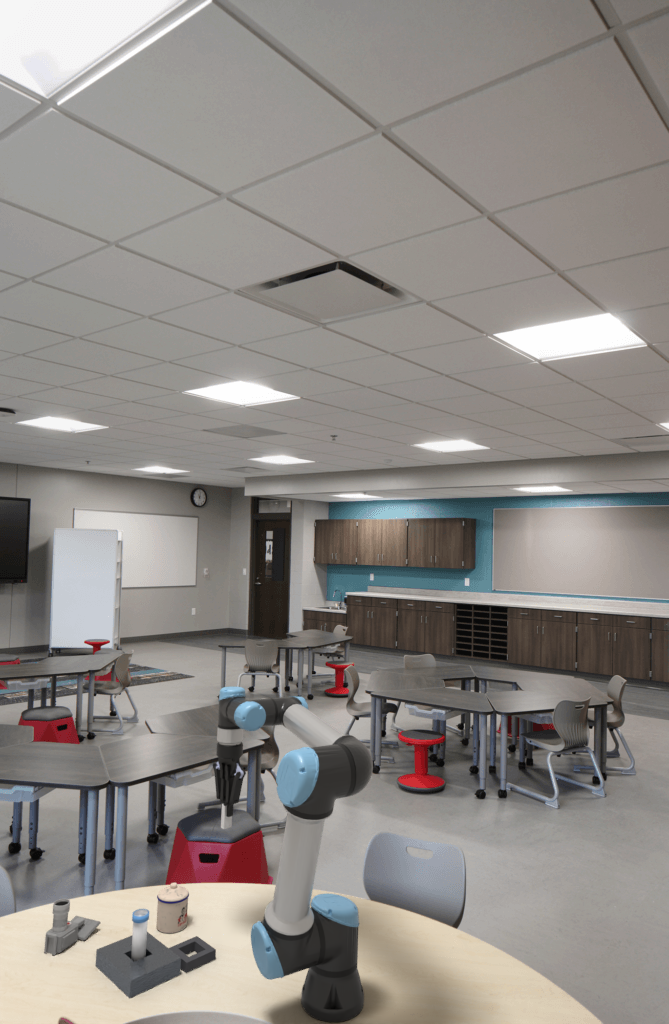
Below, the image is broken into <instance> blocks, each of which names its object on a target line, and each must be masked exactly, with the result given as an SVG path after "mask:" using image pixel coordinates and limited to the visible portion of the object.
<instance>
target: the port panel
mask: <svg viewBox="0 0 669 1024" xmlns="http://www.w3.org/2000/svg"><path fill="white" fill-rule="evenodd" d="M169 948H170V947H167V946H166V945H165V944H164V943H162V942H161V941H160V940H159V939H158V938H156V937H155V936H153V935H152V934H151V933H149V931H147V942H146V957H145V958H142V959H140V960H138V961H135V962H134V961H132V960H131V952H132V935H129V936H127V937H124V938H122V939H120V940H117V941H114V942H112V943H109V944H107V945H105V946H102V947H99V948H97V949H96V951H95V954H96V955H95V964H94V965H95V967H96V968H97V969H98V970H99V971H100V972H102V974H103V975H104V976H106V977H107V979H109V981H111V982H112V983H113V984H114V985H115V986H116V987H117V988H118V989H119V990H120V991H121V992H122V993H123V994H124V995H125V996H127V998H128V999H132V998H134V997H136V996H138V995H140V994H142V993H144V992H146V991H149V990H150V989H153V988H155V987H158V986H160V985H161V984H163V983H165V982H167V981H170V980H172V979H174V978H177V977H178V976H180V975H181V970H182V969H181V958H180V957H179V956H178V955H177V954H175V953H174V952H173V951H171V950H170V949H169Z"/></svg>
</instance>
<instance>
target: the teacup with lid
mask: <svg viewBox="0 0 669 1024" xmlns="http://www.w3.org/2000/svg"><path fill="white" fill-rule="evenodd" d="M189 896H190V892H189V890H188V889H187V888H186V887H185V886H182V885H178V883H177V882H171V883H170V885H169V886H166V887H164V888H162V889H160V890H159V891H158V893H157V896H156V898H157V907H156V908H157V909H156V911H157V912H156V925H155V926H156V930H158V931H159V932H160V933H164V934H174V933H178V932H181V931H182V930H184V929H185V928H186V927H187V924H188V909H189V907H188V904H189V903H188V902H189Z"/></svg>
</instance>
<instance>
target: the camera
mask: <svg viewBox="0 0 669 1024" xmlns="http://www.w3.org/2000/svg"><path fill="white" fill-rule="evenodd" d="M70 907H71V900H70V899H68V898H60V899H57V900H55V901H54V902H53V904H52V914H53V915H52V927H51V929H49V930H48V931H46V932H45V937H44V938H45V939H44V949H43V950H44V954H50V955H52V956H54V957H55V956H56V954H60V953H62V952H63V951H64V950H66V949H68V948H69V947H70V946H72V945H73V944H75V943H76V942H77V941H79V940H80V941H83V942H85V941H86V940H87V939H88V938H89V937H90V936H91V934H92V933H93V932H94V931H95V930H96V929H97V928H98V927H99V925H100V924H101V921H99V920H95V919H91V918H86V917H85V916H84V917H83V916H79V915H75V916H73V918H72V919H71V920H68V918H69V912H70Z"/></svg>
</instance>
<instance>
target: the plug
mask: <svg viewBox="0 0 669 1024" xmlns="http://www.w3.org/2000/svg"><path fill="white" fill-rule="evenodd" d="M149 920H150V910H149V909H146V908H138V909H136V910H134V911H133V912H132V917H131V921H132V935H131V936H132V952H131V960H132V961H134V962H135V961H138V960H140V959H142V958H145V957H146V942H147V932H148V921H149Z"/></svg>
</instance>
